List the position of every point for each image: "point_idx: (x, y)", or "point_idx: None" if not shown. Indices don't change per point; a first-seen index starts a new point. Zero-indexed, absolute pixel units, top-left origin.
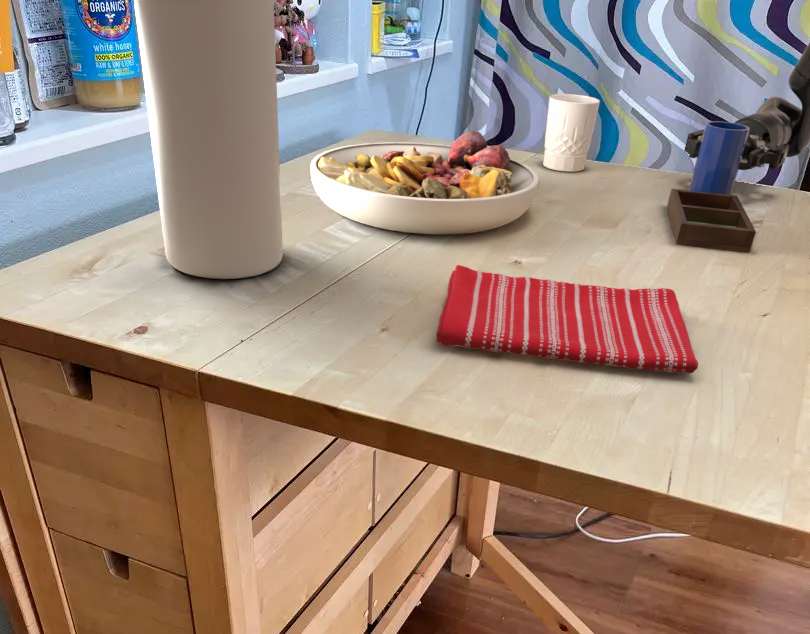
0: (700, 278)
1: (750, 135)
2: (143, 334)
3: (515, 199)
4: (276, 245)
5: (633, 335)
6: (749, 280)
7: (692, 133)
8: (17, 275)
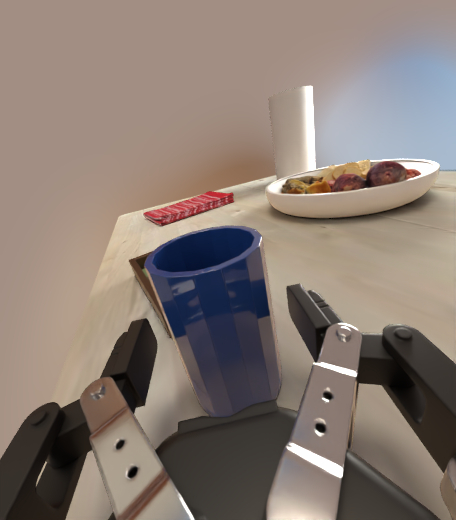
0: (159, 242)
1: (170, 479)
2: (259, 180)
3: (266, 193)
4: (279, 176)
5: (165, 211)
6: (132, 253)
7: (397, 328)
8: None
